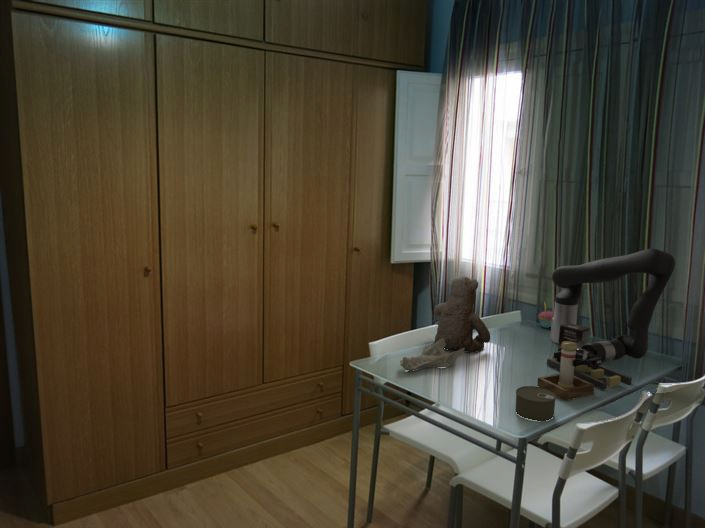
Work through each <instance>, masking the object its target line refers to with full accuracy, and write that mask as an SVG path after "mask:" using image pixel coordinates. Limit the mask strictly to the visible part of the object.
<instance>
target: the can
mask: <svg viewBox="0 0 705 528" xmlns="http://www.w3.org/2000/svg"><path fill="white" fill-rule="evenodd" d="M515 394H516V395H515V410H516V412H517V414H519V415H520V416H522V417H524V418H528V419H532V420H537V421H546V420H549V419H551V418H552V417H553V415H554V416H555V408H556V400H557V396H556V394H555V393H554V392H552V391H550V390H548V389H545V388H542V387H537V386H534V385H525V386H521V387H518V388H516V390H515Z"/></svg>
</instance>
